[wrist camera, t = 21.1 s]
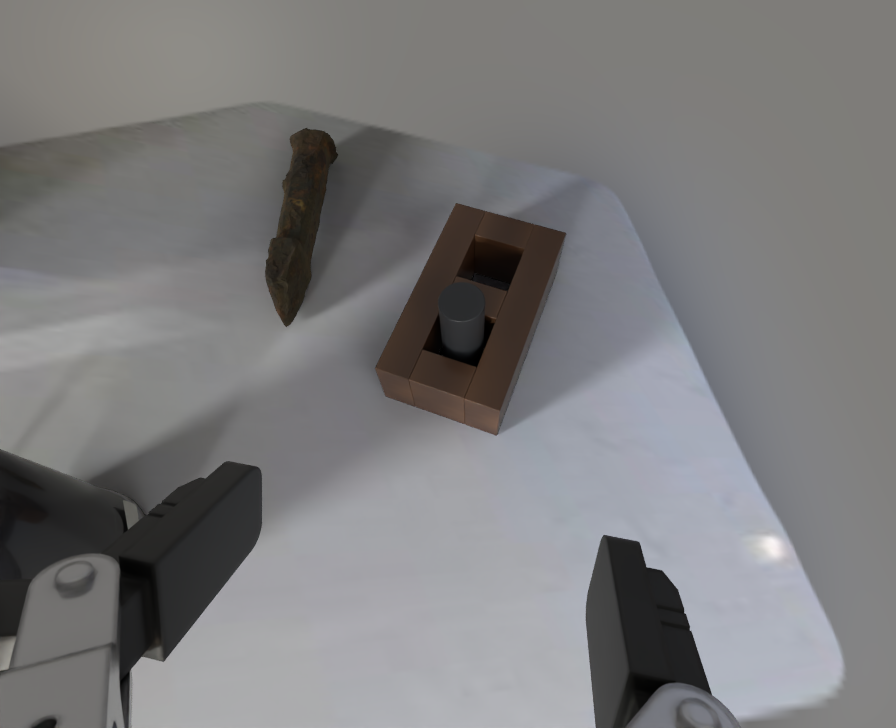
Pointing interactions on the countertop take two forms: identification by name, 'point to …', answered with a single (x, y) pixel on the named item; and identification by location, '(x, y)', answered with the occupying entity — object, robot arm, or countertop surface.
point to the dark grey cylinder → (462, 322)
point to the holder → (506, 317)
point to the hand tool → (299, 221)
